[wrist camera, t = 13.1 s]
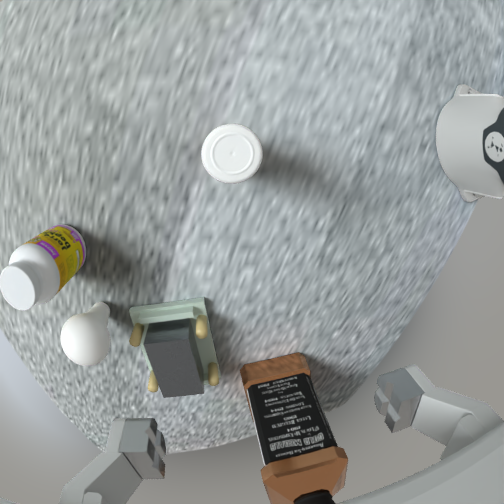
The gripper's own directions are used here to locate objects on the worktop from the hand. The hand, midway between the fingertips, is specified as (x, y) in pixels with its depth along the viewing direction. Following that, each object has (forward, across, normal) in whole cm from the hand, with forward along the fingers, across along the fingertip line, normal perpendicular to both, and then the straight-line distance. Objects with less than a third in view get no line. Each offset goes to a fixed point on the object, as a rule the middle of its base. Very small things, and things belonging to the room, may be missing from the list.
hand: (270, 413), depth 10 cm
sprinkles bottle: (+29, -1, -8) cm, 30 cm away
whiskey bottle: (+29, -4, +26) cm, 40 cm away
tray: (+29, +9, +16) cm, 34 cm away
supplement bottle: (+29, +21, 0) cm, 36 cm away
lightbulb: (+29, +18, +9) cm, 35 cm away
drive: (+28, +9, +16) cm, 33 cm away
